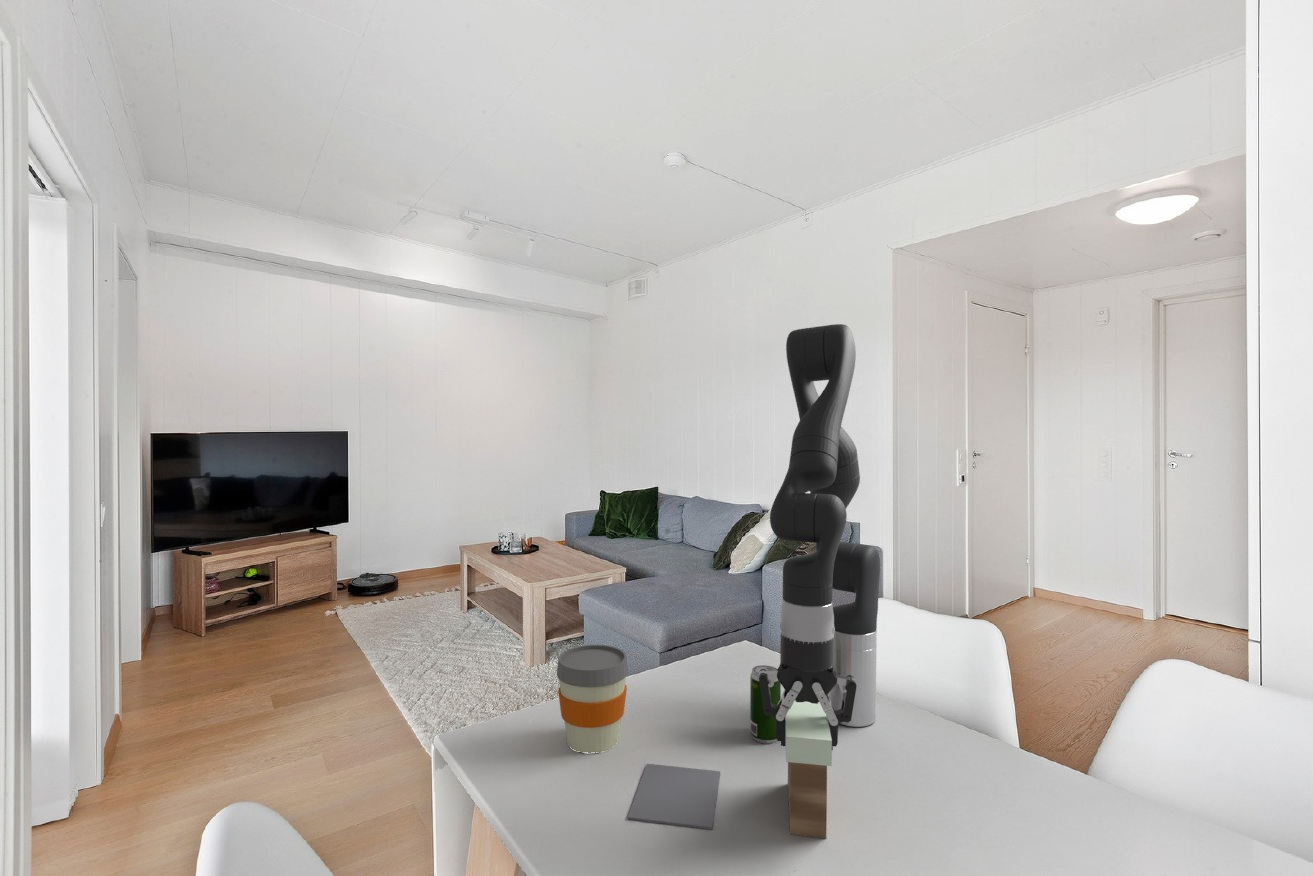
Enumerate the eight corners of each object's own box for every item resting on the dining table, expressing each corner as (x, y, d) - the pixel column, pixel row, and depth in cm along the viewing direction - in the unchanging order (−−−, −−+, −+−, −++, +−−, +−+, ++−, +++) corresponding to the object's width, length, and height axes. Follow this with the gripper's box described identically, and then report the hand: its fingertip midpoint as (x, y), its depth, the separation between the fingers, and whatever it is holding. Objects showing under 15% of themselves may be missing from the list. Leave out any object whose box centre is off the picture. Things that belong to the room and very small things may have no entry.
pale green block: (784, 720, 96) (784, 698, 96) (824, 723, 95) (824, 701, 95) (786, 761, 85) (786, 736, 84) (831, 766, 83) (831, 740, 83)
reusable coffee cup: (543, 751, 106) (542, 664, 106) (579, 718, 118) (578, 640, 117) (608, 766, 101) (608, 675, 101) (639, 731, 113) (639, 649, 113)
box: (787, 783, 97) (788, 720, 96) (819, 787, 96) (820, 723, 95) (790, 834, 85) (790, 762, 84) (826, 838, 84) (827, 765, 84)
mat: (647, 765, 102) (647, 763, 102) (720, 773, 99) (720, 771, 99) (627, 819, 88) (627, 817, 88) (712, 829, 86) (712, 827, 86)
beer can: (764, 747, 107) (765, 679, 107) (743, 734, 112) (744, 669, 111) (786, 739, 110) (787, 672, 110) (765, 726, 115) (766, 662, 114)
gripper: (855, 625, 92) (854, 737, 92) (757, 619, 95) (756, 728, 95) (862, 643, 85) (861, 764, 85) (756, 636, 87) (755, 754, 88)
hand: (806, 745), depth 90 cm, fingers closed on pale green block, 6 cm apart
